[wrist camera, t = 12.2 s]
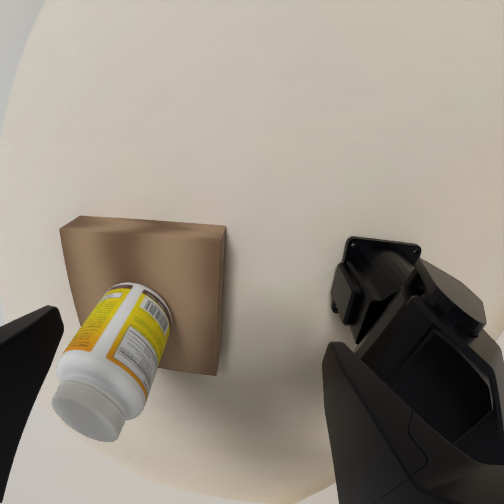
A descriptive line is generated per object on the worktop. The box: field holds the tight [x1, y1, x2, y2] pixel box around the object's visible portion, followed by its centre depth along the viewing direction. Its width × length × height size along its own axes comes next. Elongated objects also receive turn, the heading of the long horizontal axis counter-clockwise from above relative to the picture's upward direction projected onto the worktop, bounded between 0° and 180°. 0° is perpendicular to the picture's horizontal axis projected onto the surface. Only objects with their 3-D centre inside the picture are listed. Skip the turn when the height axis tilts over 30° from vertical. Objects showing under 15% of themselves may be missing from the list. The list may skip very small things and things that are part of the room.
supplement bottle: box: [52, 282, 172, 442], centre depth 16 cm, size 6×6×10 cm
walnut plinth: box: [59, 216, 226, 376], centre depth 22 cm, size 12×12×3 cm
